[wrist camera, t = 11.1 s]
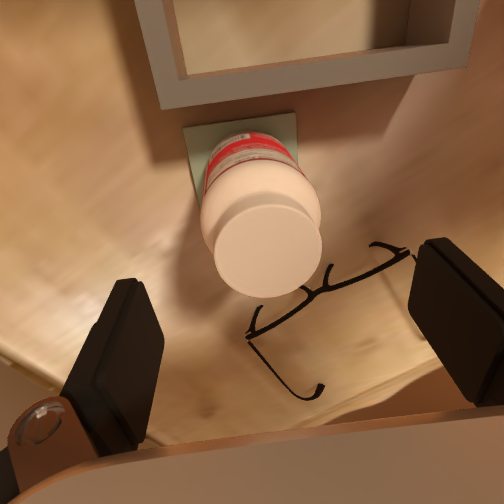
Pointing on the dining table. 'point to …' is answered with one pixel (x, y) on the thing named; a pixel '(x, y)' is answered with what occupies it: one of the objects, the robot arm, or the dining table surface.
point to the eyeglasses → (399, 255)
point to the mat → (210, 135)
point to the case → (311, 69)
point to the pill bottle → (259, 216)
